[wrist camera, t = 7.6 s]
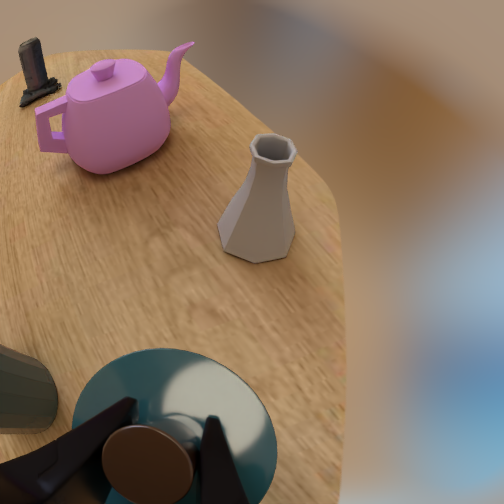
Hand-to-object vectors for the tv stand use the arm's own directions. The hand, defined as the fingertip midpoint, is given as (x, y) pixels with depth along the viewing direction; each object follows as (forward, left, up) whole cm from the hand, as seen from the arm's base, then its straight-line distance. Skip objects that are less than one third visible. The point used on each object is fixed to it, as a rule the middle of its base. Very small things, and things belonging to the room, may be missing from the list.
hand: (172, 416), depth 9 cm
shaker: (-1, +15, -12) cm, 20 cm away
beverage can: (+46, +35, -13) cm, 59 cm away
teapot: (+29, +11, -12) cm, 33 cm away
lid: (-1, 0, -1) cm, 2 cm away
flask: (+16, -5, -12) cm, 21 cm away
